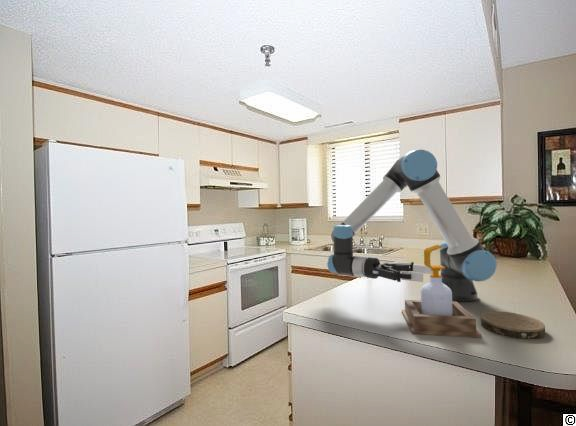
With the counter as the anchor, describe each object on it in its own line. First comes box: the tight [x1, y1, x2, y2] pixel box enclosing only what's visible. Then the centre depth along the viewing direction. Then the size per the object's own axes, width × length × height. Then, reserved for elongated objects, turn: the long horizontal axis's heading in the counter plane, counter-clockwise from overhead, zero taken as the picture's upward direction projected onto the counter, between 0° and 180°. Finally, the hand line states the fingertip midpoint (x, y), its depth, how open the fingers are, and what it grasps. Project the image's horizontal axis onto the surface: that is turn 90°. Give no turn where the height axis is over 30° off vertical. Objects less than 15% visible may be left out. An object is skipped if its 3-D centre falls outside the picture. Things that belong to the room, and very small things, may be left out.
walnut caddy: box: [401, 299, 483, 339], centre depth 99 cm, size 19×19×5 cm
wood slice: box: [480, 310, 546, 341], centre depth 93 cm, size 16×16×3 cm
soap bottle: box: [420, 244, 453, 316], centre depth 98 cm, size 9×9×25 cm
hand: (428, 273), depth 100 cm, fingers open, 13 cm apart
